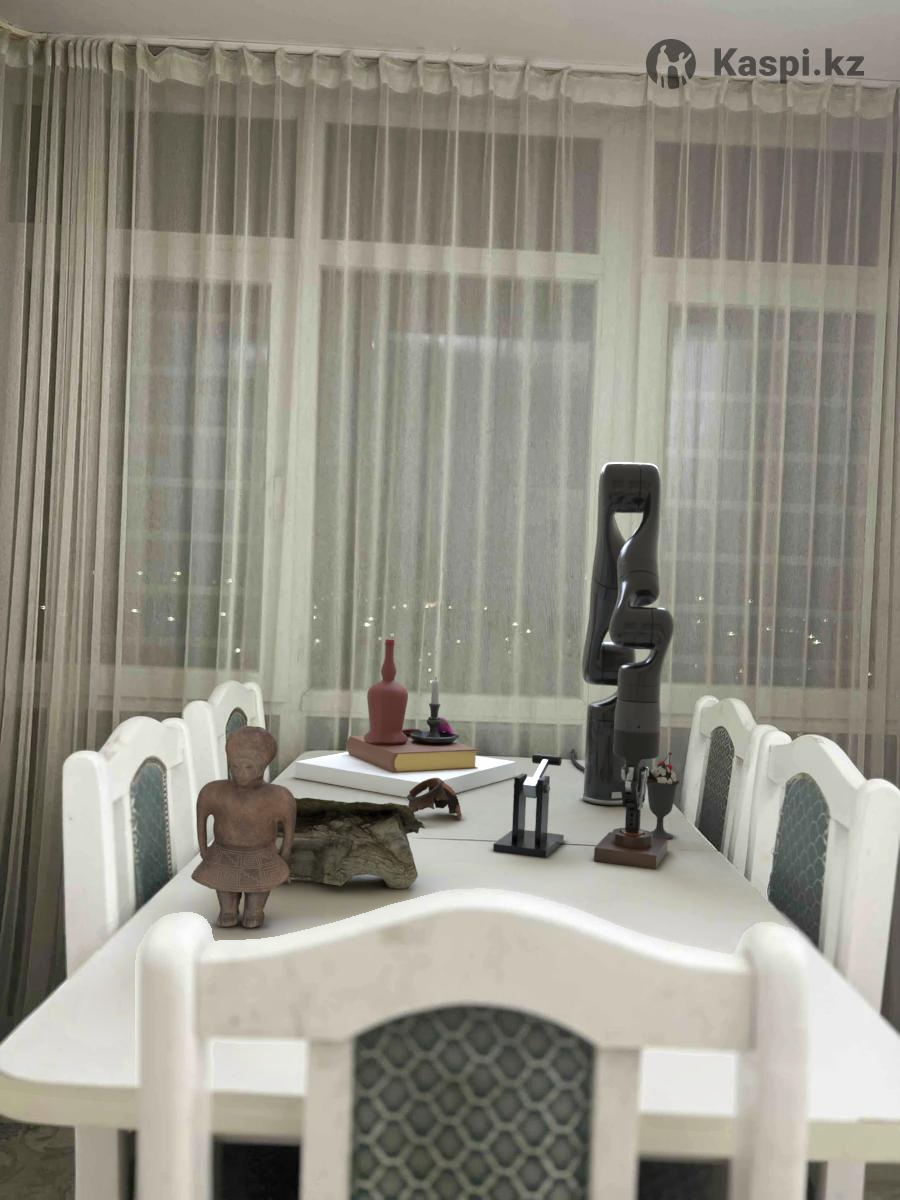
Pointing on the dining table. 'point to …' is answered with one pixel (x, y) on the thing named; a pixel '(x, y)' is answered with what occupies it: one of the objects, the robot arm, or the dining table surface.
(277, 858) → the clay figurine
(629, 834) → the button
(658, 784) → the sundae
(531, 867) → the dining table surface
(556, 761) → the lever
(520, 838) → the bracket
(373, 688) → the decorative still life
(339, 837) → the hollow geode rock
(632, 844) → the button block
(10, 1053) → the dining table surface
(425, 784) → the brown broken pot shard
